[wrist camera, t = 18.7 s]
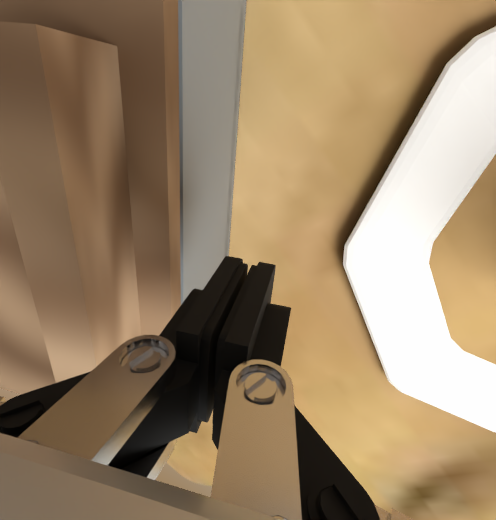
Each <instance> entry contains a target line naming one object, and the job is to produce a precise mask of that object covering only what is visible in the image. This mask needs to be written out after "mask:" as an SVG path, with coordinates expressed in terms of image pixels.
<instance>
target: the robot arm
mask: <svg viewBox="0 0 496 520" xmlns="http://www.w3.org/2000/svg"><path fill="white" fill-rule="evenodd" d="M247 270H248V265H247V264H244V263H243V260H242V259H240V258H235V257H229V256H225V258H224V259H223V261H222V262H221V264H220V265H219V267H218V268H217V270H216V271H215V273H214V274H213V276H212V277H211V279H210V280H209V282H208V283H207V285H206V286H205V288H204V289H203V290H200V289H196V288H195V289H193V290H192V291H191V292H190V294H189V295H188V296H187V298H186V299H185V300H184V302H183V303H182V305H181V306H180V307H179V309H178V310H177V311H176V313H175V314H174V316H173V317H172V318H171V320H170V321H169V323H168V324H167V325H166V327H165V328H164V329H163V331H162V332H161V334H160V335H159V336H158V335H142V336H137V337H134V338H132V339H129V340H127V341H126V342H124V343H123V344H121V345H120V346H119V347H118V348H117V349H115V350H114V351H113V352H112V353H111V354H110V355H109V356H108V357H107V358H105V359H104V360H103V361H102V362H101V363H100V364H99V365H98V366H97V367H95V368H94V369H93V370H92V371H91V372H88V373H85V374H81V375H78V376H75V377H72V378H69V379H66V380H63V381H60V382H57V383H54V384H51V385H48V386H45V387H42V388H39V389H36V390H33V391H30V392H27V393H24V394H21V395H19V396H16V397H14V398H12V399H10V400H8V401H7V402H6V401H5V398H4V397H0V520H413V519H412V518H410V517H408V516H406V515H404V514H402V513H400V512H398V511H396V510H395V509H393V508H392V509H391V511H390V512H387V511H385V510H383V509H381V508H380V507H378V506H376V505H374V503H373V501H372V500H371V498H370V497H369V495H368V494H367V492H366V491H365V489H364V488H363V487H362V486H361V485H360V483H359V482H358V481H357V480H356V479H355V477H354V476H353V475H352V474H351V473H350V471H349V470H348V469H347V468H346V467H345V465H344V464H343V463H342V462H341V461H340V459H339V458H338V457H337V456H336V455H335V453H334V452H333V451H332V450H331V449H330V447H329V446H328V445H327V444H326V443H325V441H324V440H323V439H322V438H321V437H320V435H319V434H318V433H317V432H316V431H315V429H314V428H313V427H312V426H311V425H310V423H309V422H308V421H307V420H306V419H305V417H304V416H303V415H302V414H301V413H300V411H299V410H298V409H297V408H296V407H295V405H294V392H293V384H292V381H291V378H290V377H289V375H288V373H287V372H286V371H285V370H284V369H283V368H281V361H282V356H283V350H284V344H285V339H286V333H287V328H288V322H289V316H290V311H291V308H290V307H285V306H280V305H275V304H270V302H271V295H272V288H273V281H274V275H275V265H273V264H268V263H262V262H259V263H258V265H257V266H255V265H252V266H251V268H250V270H249V272H248V275H247ZM212 410H213V434H212V440H213V442H214V444H215V446H216V447H217V449H218V453H217V460H216V466H215V472H214V478H213V485H212V491H211V497H207V496H204V495H201V494H197V493H195V492H191V491H188V490H185V489H182V488H178V487H175V486H172V485H169V484H165V483H162V482H159V481H156V480H155V479H156V478H157V476H158V474H159V473H160V471H161V469H162V468H163V466H164V465H165V463H166V462H167V460H168V458H169V457H170V455H171V453H172V452H173V450H174V448H175V446H176V443H177V438H179V437H181V436H183V435H185V434H187V433H189V431H191V432H195V433H197V431H198V429H199V426H200V424H201V421H204V422H208V421H209V418H210V416H211V413H212Z"/></svg>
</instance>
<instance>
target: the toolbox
mask: <svg viewBox="0 0 496 520" xmlns="http://www.w3.org/2000/svg"><path fill="white" fill-rule="evenodd" d="M245 14H246V0H178V42H179V156H180V270H181V305H182V303H183V302H184V300H185V299H186V298H187V296H188V295H189V294H190V292H191V291H192V290H193V289H195V288H196V289H200V290H203V289H204V288H205V286H206V285H207V283H208V282H209V280H210V279H211V277H212V276H213V274H214V273H215V271H216V270H217V268H218V267H219V265H220V264H221V262H222V261H223V259H224V258H225V256H229V242H230V228H231V214H232V200H233V185H234V171H235V157H236V143H237V128H238V114H239V100H240V86H241V71H242V57H243V43H244V29H245Z"/></svg>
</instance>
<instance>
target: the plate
mask: <svg viewBox="0 0 496 520" xmlns="http://www.w3.org/2000/svg"><path fill="white" fill-rule="evenodd" d="M495 154H496V26H495V27H493V28H491V29H489V30H487V31H485V32H483V33H481V34H479V35H477V36H475V37H473V38H472V39H471V40H470V41H469V42H468V43H467V44H466V45H465V46H464V47H463V48H462V49H461V50H460V51H459V52H458V53H457V54H456V55H454V56H453V57H452V58H451V59H450V60H449V61H448V62H447V63H446V64H445V66H444V68H443V70H442V71H441V73H440V75H439V77H438V78H437V80H436V82H435V84H434V86H433V87H432V89H431V91H430V93H429V94H428V96H427V98H426V100H425V102H424V103H423V105H422V107H421V109H420V111H419V112H418V114H417V116H416V118H415V119H414V121H413V123H412V125H411V127H410V128H409V130H408V132H407V134H406V135H405V137H404V139H403V141H402V143H401V144H400V146H399V148H398V150H397V152H396V153H395V155H394V157H393V159H392V160H391V162H390V164H389V166H388V168H387V169H386V171H385V173H384V175H383V177H382V178H381V180H380V182H379V184H378V185H377V187H376V189H375V191H374V193H373V194H372V196H371V198H370V200H369V201H368V203H367V205H366V207H365V209H364V210H363V212H362V214H361V216H360V218H359V219H358V221H357V223H356V225H355V226H354V228H353V230H352V232H351V234H350V235H349V237H348V239H347V241H346V242H345V245H344V257H343V266H344V269H345V271H346V274H347V276H348V279H349V282H350V284H351V287H352V289H353V292H354V294H355V297H356V299H357V302H358V305H359V307H360V310H361V312H362V315H363V317H364V320H365V323H366V325H367V328H368V330H369V333H370V335H371V338H372V341H373V343H374V346H375V348H376V351H377V353H378V356H379V359H380V361H381V364H382V366H383V369H384V371H385V374H386V377H387V379H388V381H389V382H390V383H391V384H392V385H393V386H394V387H396V388H397V389H398V390H399V391H400V392H402V393H404V394H407V395H409V396H411V397H414V398H416V399H418V400H421V401H423V402H425V403H428V404H430V405H432V406H435V407H437V408H439V409H442V410H444V411H446V412H449V413H451V414H453V415H456V416H458V417H460V418H463V419H465V420H467V421H470V422H472V423H474V424H477V425H479V426H481V427H484V428H486V429H488V430H491V431H493V432H495V433H496V365H495V364H493V363H491V362H488V361H486V360H484V359H481V358H479V357H477V356H474V355H472V354H469V353H467V352H465V351H463V350H462V349H461V348H460V347H459V346H458V345H457V344H456V343H455V342H454V341H453V340H452V339H451V337H450V334H449V331H448V327H447V324H446V320H445V317H444V314H443V310H442V307H441V303H440V300H439V297H438V293H437V290H436V286H435V283H434V279H433V276H432V273H431V269H430V266H429V259H430V255H431V250H432V245H433V242H434V240H435V239H436V238H437V236H438V235H439V233H440V232H441V230H442V229H443V228H444V226H445V225H446V223H447V222H448V221H449V219H450V218H451V216H452V215H453V214H454V212H455V211H456V209H457V208H458V206H459V205H460V204H461V202H462V201H463V199H464V198H465V197H466V195H467V194H468V192H469V191H470V190H471V188H472V187H473V185H474V184H475V182H476V181H477V180H478V178H479V177H480V175H481V174H482V173H483V171H484V170H485V168H486V167H487V166H488V164H489V163H490V161H491V160H492V158H493V157H494V156H495Z"/></svg>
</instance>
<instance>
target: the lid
mask: <svg viewBox="0 0 496 520" xmlns="http://www.w3.org/2000/svg"><path fill="white" fill-rule="evenodd" d="M180 306H181V270H180V156H179V42H178V0H0V388H1V389H5V390H8V391H11V392H15V393H18V394H24V393H27V392H30V391H33V390H36V389H39V388H42V387H45V386H48V385H51V384H54V383H57V382H60V381H63V380H66V379H69V378H72V377H75V376H78V375H81V374H85V373H88V372H91V371H92V370H93V369H94V368H95V367H97V366H98V365H99V364H100V363H101V362H102V361H103V360H104V359H105V358H107V357H108V356H109V355H110V354H111V353H112V352H113V351H114V350H115V349H117V348H118V347H119V346H120V345H121V344H123V343H124V342H126V341H127V340H129V339H132V338H134V337H137V336H142V335H158V336H159V335H160V334H161V332H162V331H163V329H164V328H165V327H166V325H167V324H168V323H169V321H170V320H171V318H172V317H173V316H174V314H175V313H176V311H177V310H178V309H179V307H180Z"/></svg>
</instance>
